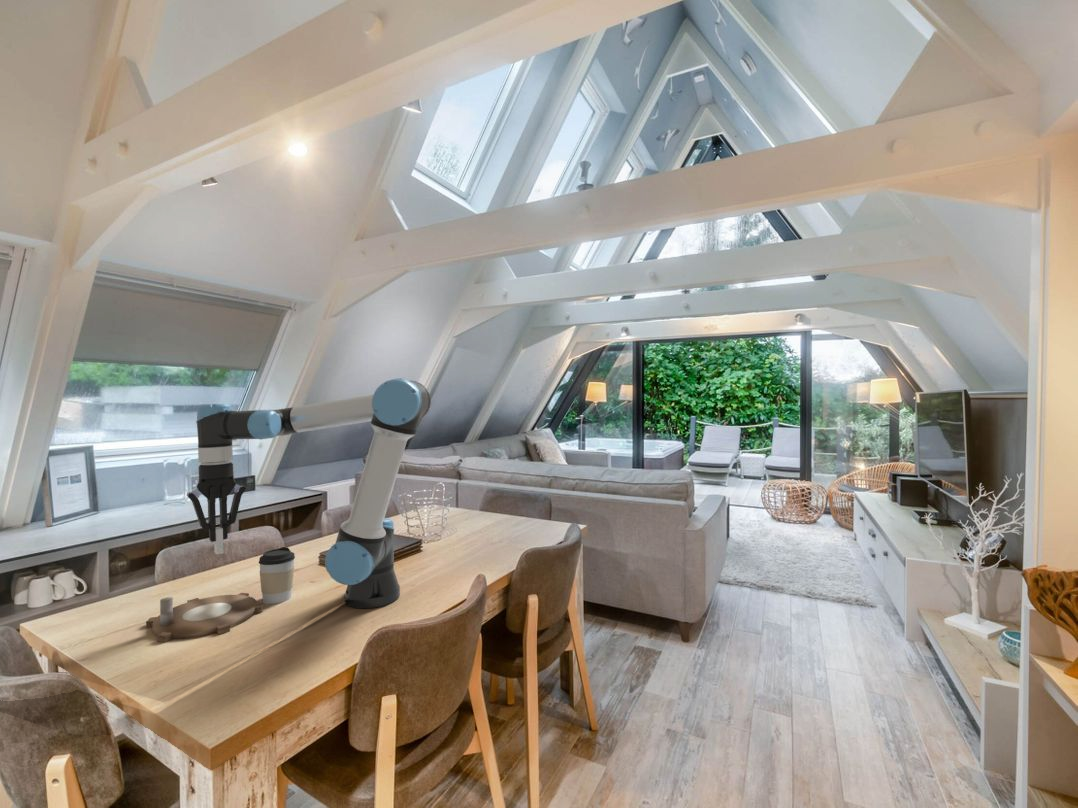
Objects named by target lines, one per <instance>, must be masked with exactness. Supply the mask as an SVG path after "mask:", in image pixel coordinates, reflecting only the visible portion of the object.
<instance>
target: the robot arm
mask: <svg viewBox="0 0 1078 808" xmlns="http://www.w3.org/2000/svg"><path fill="white" fill-rule="evenodd" d="M431 404H432V398H431V395H430V392H429V390H428V389H427V387H425V385H423V384H422V383H420V382H418V381H416V380H410V379H405V378H393V379H392V378H391V379H389V380H386V381H385V382H382V383H381V384H380V385H379V386H378V387H377V388H376V390H375V391H374V393H373V394H368V395H363V396H362V395H361V396H355V397H350V398H341V399H336V400H331V401H329V400H328V401H324V402H317V403H311V404H305V405H298V406H293V407H286V408H279V409H278V408H277V409H257V410H256V409H255V410H238V411H237V410H233V409H232V405H231V404H229V403H218V404H217V403H213V404H212V403H211V404H210V403H207V404H200V405H198V406H197V408H196V410H197V412H196V413H197V414H196V430H197V447H198V448H197V456H198V458H197V459H198V460H197V462H198V463H199V466H198V483H197V485H196V488H194V490H192V491H188V492H187V493H186V497H187V498H188V499H189V500H190V501H191V503H192V506H193V509H194V512H195V515H196V517H197V520H198V524H199V526H200V527H201V528H202V529H204V530H205V529H207V530H208V536H209V537H208V539H209V541H210V543H213V542H214V543H213V544H214V545H213V546H214V550H213V551H214V552H213V553H215V554H216V555H221V554H224V540H227V539H228V537H229V536H228V535H229V534H228V527H229V526H230V525H232V524H235V523H236V520H237V518H238V517H237V516H238V512H239V508H240V504H241V499H242V496H243V494H244V493H245V491H246V490H247V489H246V487H245V486H243V485H240V484H238V483H237V482H236V480H235V478H234V463H233V462H231V461H233V459H234V456H233V454H234V453H233V440H267V439H275V438H276V437H277V436H279V437H280V436H282V437H283V436H288V435H292V434H297V433H304V432H312V431H316V430H323V429H328V428H335V427H343V426H349V425H355V424H361V423H367V422H370V426H371V428H372V429H373V432H374V433H373V436H372V438H371V439H372V440H371V443H370V446H369V449H368V453H367V456H366V460H365V463H364V467H363V469H362V470H363V471H362V473H361V477H360V479H359V484H358V485H357V489H356V494H355V497H354V500H353V503H352V507H351V510H350V514H349V517H348V518H347V520H345V521H344V522H342V523H340V527H339V530H338V534H337V537H336V540H335V543H334V544H332V545H331V546H330V548H329V549H328V551H327V553H326V556H325V559H324V564H325V570H326V572H327V573H328V575H329V576H330V578H332V579H333V581H334V582H336V583H338V584H342V585H346V590H345V592H344V599H345V600H344V603H345V604H346V606H348V607H351V608H354V609H373V608H379V607H383V606H387V605H388V604H389V605H390V604H391V603H393V602H396V601H397V600H398V599H399V598H400V596H401V588H400V584H399V582H398V578H397V575H396V571H395V567H394V566H395V564H394V562H395V557H394V555H395V542H394V541H395V525H394V520H393V519H391V518H388V517H386V514H387V510H388V507H389V503H390V500H391V497H392V493H393V491H394V487H395V483H396V480H397V478H398V477H397V476H398V474H399V470H400V466H401V463H402V460H403V456H404V453H405V450H406V445H407V442H408V440H409V439H411V438H413V437H415V435H416V432H417V429H418V426H419V423H420V420H421V419H423V418H424V417H425V416H426V415H427V414H428V412H429V410H430V408H431ZM232 491H233V492H234V495H233V497H232V501H231V506H230V509H229V513H228V502H227V501H228V496H229V495H230V493H231V492H232ZM199 493H201V494H202V495H203V496H204V497H205V498H206V501H207V518H208V519H206V517H205V514H204V511H203V508H202V505H201V502H200V500H199V498H200V494H199ZM217 499H218V502H219V505H218V506H219V524H220V526H217V521H216V520H217V519H216V512H217V511H216V501H217ZM228 514H229V515H228ZM207 521H208V522H207Z"/></svg>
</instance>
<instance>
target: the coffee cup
mask: <svg viewBox="0 0 1078 808" xmlns="http://www.w3.org/2000/svg"><path fill="white" fill-rule="evenodd" d="M295 555H296V554H295V553H294V552H292V551H291V549H290V548H289V547H288V546H287V547H286V546H284V547H283V546H282V547H279V548H275V549H270V550H267V551H265V552H264V553H263V554H262V555H261V556H260V557H259V561H258V564H259V578H260V579H259V580H260V591H261V597H262V602H263V603H264V604H266V605H276V604H280V603H281V604H282V603H284V602H287V601H289V600H290V599H291V598H292V593H293V592H292V589H293V582H294V573H295V559H296V556H295ZM263 603H262V604H263Z"/></svg>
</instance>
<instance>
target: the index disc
mask: <svg viewBox="0 0 1078 808" xmlns="http://www.w3.org/2000/svg"><path fill="white" fill-rule="evenodd" d="M173 601H174V597H172V596H168V597H163V598H161V599H160V601H159V604H160V605H159V613H160V614H159V615H158V616H152V617H149V618H148V619H147V620H146V622H145V628H151V627H152V634H153V635H154V636H156V642H161V643H167V642H168V641H171V640H183V639H184V640H185V639H193V638H200V637H206V636H209V635H214V634H217V635H222V634H224V633H228V632H231V628H234V627H236V626H239V625H241V624H243V623H244V622H246V621H248V620H250V619H251V618H252V617H253V616H254V615H255V614H258V613H259V614H261V613H263V611H264V609H265V607H264V604H265V603H258V602H257V599H255V598H254V597H252V596H250V594H249V592H240V593H238V594H221V595H215V596H209V597H203V598H198V597H196V598H192V599H188V600H186V601H187V602H185V603H182V604H179V605H177V606H173V604H174V603H173Z"/></svg>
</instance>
